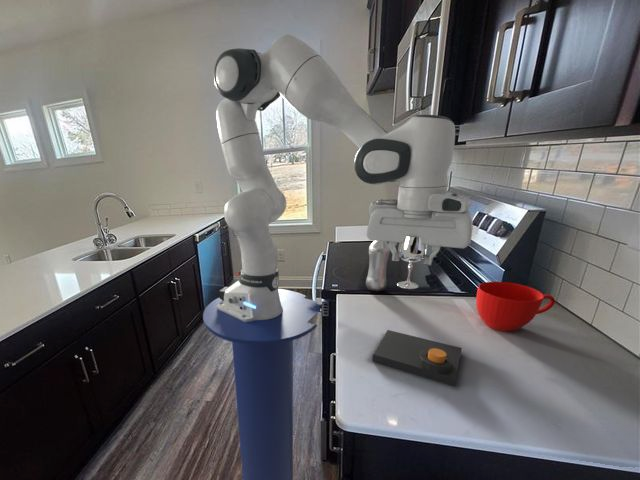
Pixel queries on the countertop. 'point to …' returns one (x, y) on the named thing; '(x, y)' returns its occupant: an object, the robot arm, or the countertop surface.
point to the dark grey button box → (417, 356)
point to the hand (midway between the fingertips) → (411, 262)
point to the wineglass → (411, 257)
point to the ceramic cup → (509, 304)
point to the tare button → (437, 355)
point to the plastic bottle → (377, 266)
